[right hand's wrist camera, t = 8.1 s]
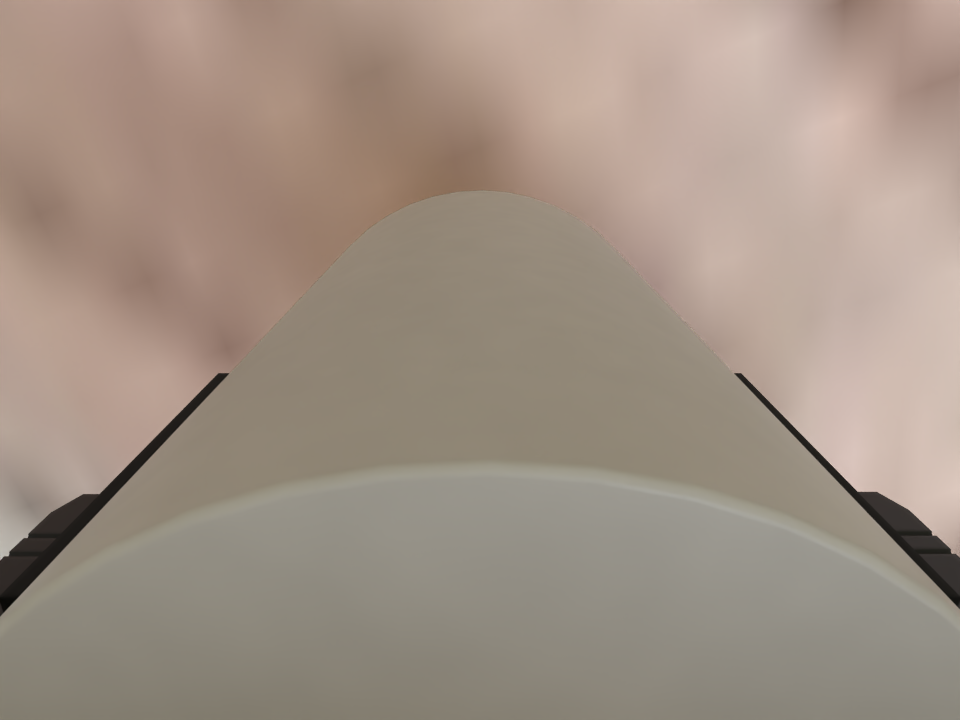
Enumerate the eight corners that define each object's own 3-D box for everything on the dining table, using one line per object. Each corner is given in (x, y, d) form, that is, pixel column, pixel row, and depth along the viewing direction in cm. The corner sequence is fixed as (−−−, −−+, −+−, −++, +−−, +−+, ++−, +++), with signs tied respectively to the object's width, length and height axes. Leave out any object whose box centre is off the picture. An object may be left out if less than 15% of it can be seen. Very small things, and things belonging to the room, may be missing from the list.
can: (236, 365, 17) (-333, 966, 5) (482, 105, 15) (495, 97, 3) (479, 568, 19) (478, 1321, 7) (724, 368, 17) (1294, 974, 5)
